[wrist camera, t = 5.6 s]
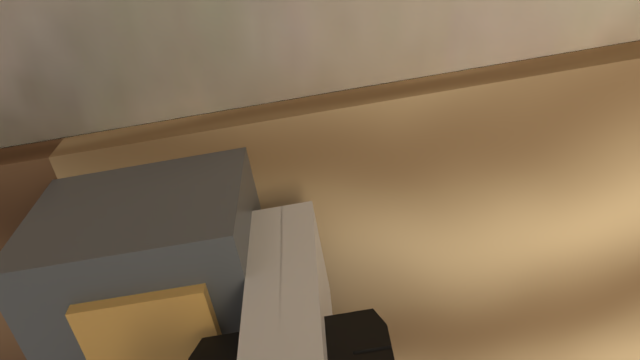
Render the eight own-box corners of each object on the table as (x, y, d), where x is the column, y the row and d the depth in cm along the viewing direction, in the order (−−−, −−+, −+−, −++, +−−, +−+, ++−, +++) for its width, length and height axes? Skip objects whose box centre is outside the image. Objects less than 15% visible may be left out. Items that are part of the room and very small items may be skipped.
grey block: (52, 180, 15) (-26, 286, 11) (245, 147, 15) (232, 244, 11) (116, 326, 17) (69, 455, 14) (283, 300, 17) (282, 423, 14)
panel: (-224, 186, 16) (-260, 209, 15) (666, 36, 15) (694, 49, 14) (-8, 501, 23) (-22, 532, 22) (621, 406, 22) (638, 433, 21)
